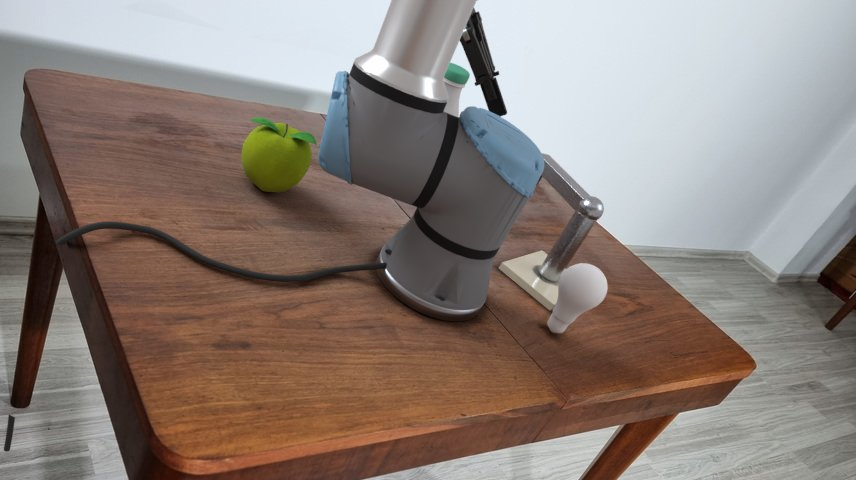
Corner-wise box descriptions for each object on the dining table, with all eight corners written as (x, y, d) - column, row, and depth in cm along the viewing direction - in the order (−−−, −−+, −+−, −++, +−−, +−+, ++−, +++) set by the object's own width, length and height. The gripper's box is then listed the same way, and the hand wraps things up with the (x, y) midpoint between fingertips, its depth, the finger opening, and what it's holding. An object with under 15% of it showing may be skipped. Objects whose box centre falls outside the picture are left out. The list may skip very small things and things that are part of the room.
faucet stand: (549, 310, 101) (553, 304, 100) (498, 268, 106) (501, 262, 105) (587, 294, 109) (591, 288, 109) (538, 255, 114) (542, 250, 113)
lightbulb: (579, 339, 98) (624, 278, 92) (559, 351, 93) (604, 287, 87) (545, 311, 100) (586, 250, 94) (524, 322, 96) (565, 258, 90)
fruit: (286, 213, 96) (309, 149, 90) (224, 184, 96) (243, 118, 91) (306, 188, 104) (329, 128, 98) (249, 161, 104) (268, 99, 98)
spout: (563, 283, 106) (613, 207, 99) (545, 281, 105) (595, 204, 97) (512, 222, 117) (554, 150, 110) (495, 219, 116) (537, 146, 108)
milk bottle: (415, 195, 115) (469, 82, 105) (377, 171, 117) (426, 58, 107) (434, 184, 122) (486, 77, 111) (397, 162, 124) (445, 54, 113)
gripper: (471, -23, 110) (517, 119, 118) (481, -31, 121) (523, 99, 129) (426, -4, 113) (474, 133, 122) (440, -14, 124) (483, 112, 132)
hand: (499, 115), depth 125 cm, fingers closed
